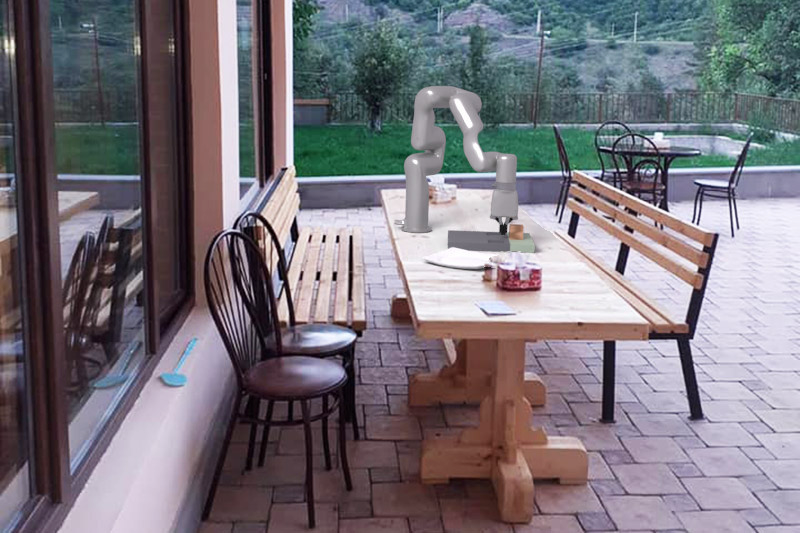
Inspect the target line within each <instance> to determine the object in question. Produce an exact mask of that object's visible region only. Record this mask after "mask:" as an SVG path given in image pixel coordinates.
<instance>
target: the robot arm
mask: <svg viewBox="0 0 800 533" xmlns="http://www.w3.org/2000/svg"><path fill="white" fill-rule="evenodd" d="M482 103H483V102H482V100H481V98H480V96H479V95H478V93H477V94H476V93H475V92H472V91H468V90H466V89H463V88H460V87H457V86H451V85H450V86H449V85H432V86H431V85H430V86H426V87H423V88H421V89H420V90H419V91H418V93H417V94H416V95H415V98H414V105H413V106H414V110H413V113H414V114H413V121H412V128H411V129H412V130H411V134H410V144H411V147H412V148H413V149H414V150H417V151H424V152H417V153H412V154H410V155H409V156H407V157H406V159H405V160H404V163H403V169H404V170H403V171H404V176H405V212H404V215H405V217H404V219H394V221H393V222H394V225H396V226H397V225H398V226H400V227H401V228H400V230H401V231H403V232H407V233H418V234H419V233H422V234H423V233H428V232H432V230H433V228H432V227H431V226H429V212H430V211H429V210H430V209H429V207H430V203H429V202H430V185H429V181H428V178H427V177H428V176H435V175H438V174H439V173H440V172H441V170H442V168H443V164H444V158H445V150H446V142H447V141H446V140H447V139H446V134H445V131H444V130H443V128H441V127H439V126H437V125H435V123H436V122H435V120H436V115H435V112H434V109H446V108H447V109H450V112H451V114H452V115H453V117H454V119H455V120H456V121H455V122H457V124H458V127H459V129H460V131H461V132H462V134H463V139H462V143H463V144H462V145H463V146H462V148H463V152H464V155H465V157H466V159H467V161H468V162H469V165H470V167H471V168H472V169H473V170H474V171H475V172H477V173H480V174H481V173H483V174H484V173H487V172H488V173H489V172H491V173H492V172H495V182H493V183H491V188H495V189H493V191H492V195H491V203H490V204H491V205H490V215H489V218H490V220H493V221H496V222H497V223H498V224H499V227H498V228H499V231H498V232H499V233H501V235H505V233H507V232H508V226H509V225H510V223H511V222H513V221H517V220H519V216H518V214H519V196H518V194H519V193H518V190H516V183H517V168H518V165H517V162H518V157H517V156H516V155H515V154H513V153H503V152H499V151H483V149H482V148H481V146H480V143H479V140H478V138H479V137H478V136H479V133H481V132H482V130H483V128H484V123H483V121H482V120H481V117H480V115H479V112H480V111H481V109H482V106H483V105H482ZM503 218H505V221H504V222H503Z"/></svg>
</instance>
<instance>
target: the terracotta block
mask: <svg viewBox="0 0 800 533" xmlns="http://www.w3.org/2000/svg"><path fill="white" fill-rule="evenodd" d="M508 226H509V228H508V232H509V239H511V240H523V233H524V229H525V227H524V225H523V224H517V223H516V224H513V223H511V224H510V223H509V225H508Z"/></svg>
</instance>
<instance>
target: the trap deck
mask: <svg viewBox="0 0 800 533" xmlns="http://www.w3.org/2000/svg"><path fill="white" fill-rule="evenodd" d="M452 247H454V248H459V249H464V250H468V251H474V252H495V253H497V252H499V253H500V252H501V251H521V252H520V253H524V252H526V253H528V254H534V253H535V247H536V245H535V243H534V240H533V239H532V236H531V234H530V232H523V240H511V239H509V231H507V233H505V235H501V233H499V231H480V230H479V231H475V230H449V229H448V230H447V249H449V248H452ZM501 253H502V252H501Z"/></svg>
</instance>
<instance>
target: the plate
mask: <svg viewBox="0 0 800 533" xmlns="http://www.w3.org/2000/svg"><path fill="white" fill-rule="evenodd" d="M497 255H500V254H497V253H486V252H481V251H468V250H464V249H459V248H454V247H452V248H449V249H448V248H446V249H444V250H442V251H438V252H436V253H433V254H430V255H425V256H422V257H421V259H422V260H424V261H425V262H428V263H431V264H435V265H437V266H442V267H446V268H452V269H458V270H459V269H460V270H471V269H476V270H483V269H484V268H483V267H484V263H486V261H488V260H489V258H490V257H492V256H497ZM482 268H483V269H482Z"/></svg>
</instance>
